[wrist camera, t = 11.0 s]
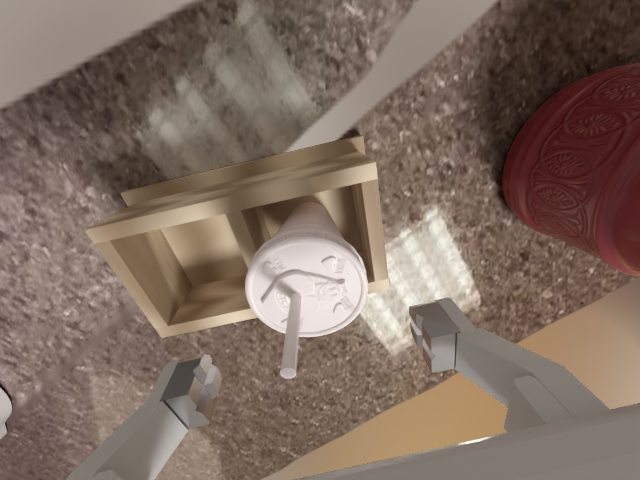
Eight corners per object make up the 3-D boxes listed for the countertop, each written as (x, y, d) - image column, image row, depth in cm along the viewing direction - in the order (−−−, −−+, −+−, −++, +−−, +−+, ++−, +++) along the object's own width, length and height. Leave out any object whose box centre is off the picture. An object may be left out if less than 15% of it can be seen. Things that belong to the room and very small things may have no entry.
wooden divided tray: (191, 298, 25) (162, 347, 20) (127, 189, 20) (65, 217, 15) (376, 258, 25) (396, 297, 19) (360, 134, 20) (382, 142, 14)
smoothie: (262, 194, 20) (177, 318, 8) (340, 177, 20) (385, 280, 7) (284, 261, 23) (247, 432, 10) (352, 247, 22) (401, 410, 10)
